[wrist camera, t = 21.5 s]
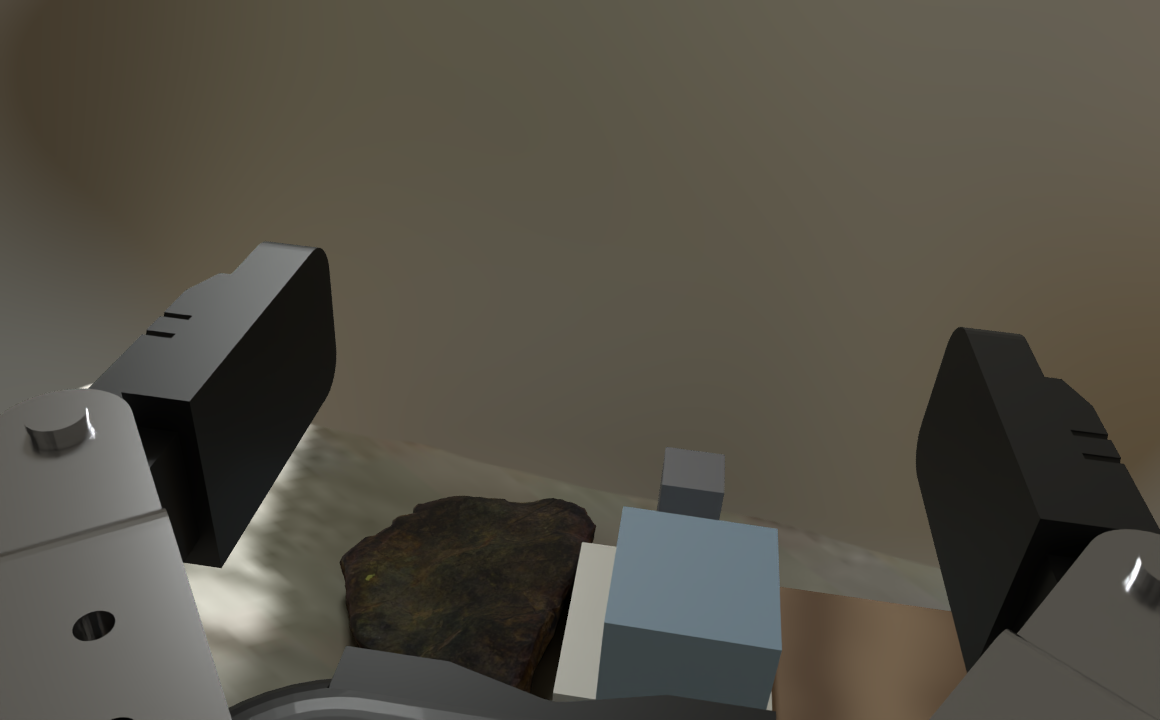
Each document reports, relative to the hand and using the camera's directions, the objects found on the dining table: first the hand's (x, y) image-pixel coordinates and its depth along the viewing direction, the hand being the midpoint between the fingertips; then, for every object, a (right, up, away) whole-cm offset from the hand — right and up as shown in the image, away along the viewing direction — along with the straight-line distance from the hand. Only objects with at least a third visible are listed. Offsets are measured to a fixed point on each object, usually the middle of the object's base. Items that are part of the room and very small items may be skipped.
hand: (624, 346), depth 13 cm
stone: (-7, -14, +34) cm, 37 cm away
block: (+2, -19, +25) cm, 31 cm away
